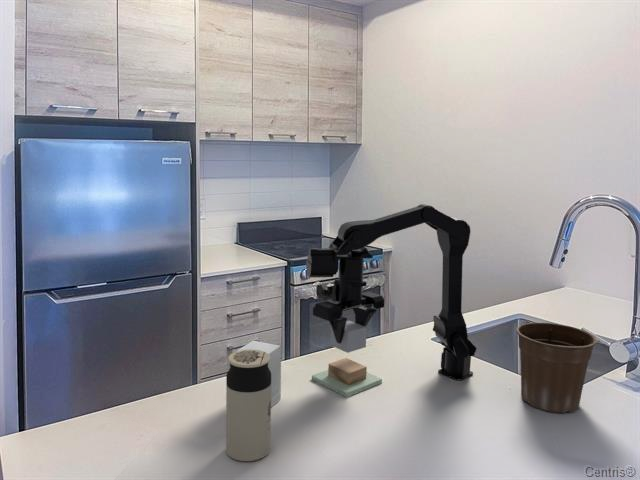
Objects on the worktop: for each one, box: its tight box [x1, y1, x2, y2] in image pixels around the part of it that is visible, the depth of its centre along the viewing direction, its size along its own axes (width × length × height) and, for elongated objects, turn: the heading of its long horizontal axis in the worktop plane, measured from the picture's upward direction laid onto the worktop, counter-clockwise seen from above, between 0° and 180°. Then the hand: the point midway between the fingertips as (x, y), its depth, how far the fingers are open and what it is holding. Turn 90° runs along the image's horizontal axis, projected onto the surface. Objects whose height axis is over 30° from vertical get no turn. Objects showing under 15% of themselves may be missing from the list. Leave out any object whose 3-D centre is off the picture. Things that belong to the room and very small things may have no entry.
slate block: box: [329, 320, 368, 354], centre depth 123 cm, size 6×6×5 cm
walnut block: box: [327, 357, 368, 385], centre depth 124 cm, size 7×6×3 cm
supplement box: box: [235, 340, 282, 408], centre depth 111 cm, size 7×7×13 cm
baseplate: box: [311, 369, 383, 398], centre depth 125 cm, size 12×12×1 cm
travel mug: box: [225, 350, 272, 462], centre depth 93 cm, size 8×8×18 cm
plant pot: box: [516, 322, 598, 414], centre depth 116 cm, size 16×16×16 cm
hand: (348, 340), depth 123 cm, fingers closed on slate block, 6 cm apart
